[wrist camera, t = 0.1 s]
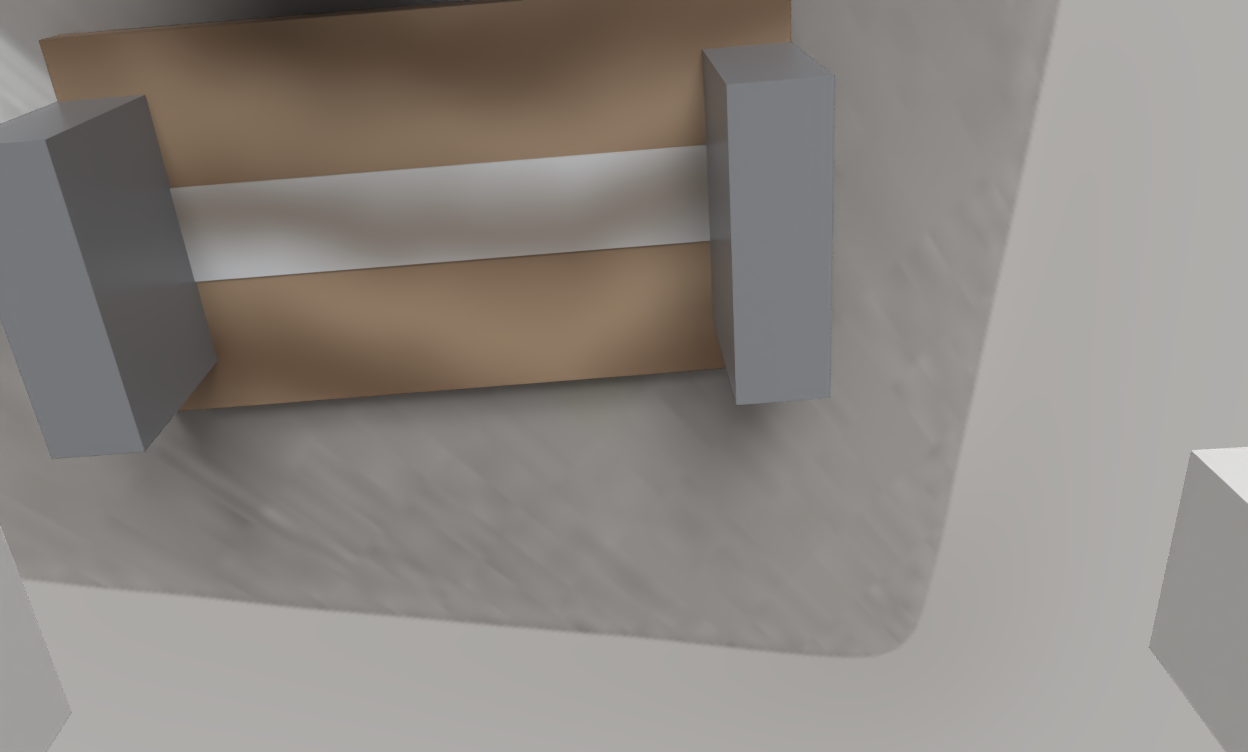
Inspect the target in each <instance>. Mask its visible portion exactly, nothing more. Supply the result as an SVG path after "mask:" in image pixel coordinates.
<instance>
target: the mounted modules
mask: <svg viewBox="0 0 1248 752" xmlns="http://www.w3.org/2000/svg"><path fill="white" fill-rule="evenodd" d="M702 54H703V79H704V104H705V129H706V148H707V173H708V198H709V223H710V254H711V279H712V304H713V323H714V326H715V330H716V333H717V337H718V341H719V344H720V348H721V352H722V355H723V359H724V363H725V366H726V370H727V373H728V377H729V381H730V384H731V388H732V392H733V395H734V399H735V402H736V405H746V404H758V403H771V402H784V401H797V400H809V399H822V398H830V380H831V310H832V239H833V169H834V98H835V75H833V74H832V73H831V72H829V71H828V70H827V69H826V68H824V67H823V66H822V65H820V64H819V63H818V62H816V61H815V60H814V59H812V58H811V57H810V56H809V55H807V54H806V53H805V52H803V51H802V50H801V49H799V48H798V47H797V46H796V45H794V44H793V43H792V42H782V43H770V44H758V45H746V46H733V47H721V48H709V49H702ZM170 188H171V187H170V184H169V180H168V176H167V173H166V169H165V165H164V162H163V158H162V154H161V151H160V147H159V143H158V140H157V136H156V132H155V129H154V125H153V121H152V118H151V114H150V110H149V107H148V103H147V99H146V96H145V95H133V96H120V97H108V98H96V99H84V100H71V101H59V102H55V103H53V104H50V105H48V106H45V107H43V108H40V109H38V110H35V111H32V112H30V113H27V114H25V115H22V116H20V117H17V118H15V119H12V120H9V121H7V122H4V123H2V124H0V319H1V322H2V325H3V327H4V330H5V333H6V335H7V338H8V341H9V344H10V346H11V349H12V352H13V355H14V357H15V360H16V363H17V365H18V368H19V371H20V374H21V376H22V379H23V382H24V385H25V387H26V390H27V393H28V395H29V398H30V401H31V404H32V406H33V409H34V412H35V415H36V417H37V420H38V423H39V425H40V428H41V431H42V434H43V436H44V439H45V442H46V445H47V447H48V450H49V453H50V455H51V458H52V459H58V458H71V457H83V456H96V455H109V454H122V453H134V452H145V451H146V449H147V448H148V447H149V446H150V444H151V443H152V442H153V441H154V439H155V438H156V437H157V436H158V434H159V433H160V432H161V431H162V429H163V428H164V427H165V426H166V424H167V423H168V422H169V421H170V420H171V418H172V417H173V416H174V415H175V413H176V412H177V411H178V410H179V408H180V407H181V406H182V405H183V403H184V402H185V401H186V400H187V398H188V397H189V396H190V395H191V393H192V392H193V391H194V390H195V388H196V387H197V386H198V385H199V383H200V382H201V381H202V380H203V378H204V377H205V376H206V375H207V373H208V372H209V371H210V370H211V368H212V367H213V366H214V365H215V363H216V362H217V361H218V360H217V356H216V353H215V349H214V345H213V342H212V338H211V334H210V331H209V327H208V323H207V320H206V316H205V312H204V309H203V305H202V301H201V298H200V294H199V290H198V287H197V283H196V282H195V280H194V276H193V273H192V269H191V265H190V262H189V258H188V254H187V251H186V247H185V243H184V240H183V236H182V232H181V229H180V225H179V221H178V218H177V214H176V210H175V207H174V203H173V199H172V196H171V192H170Z"/></svg>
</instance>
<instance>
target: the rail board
mask: <svg viewBox="0 0 1248 752" xmlns="http://www.w3.org/2000/svg"><path fill="white" fill-rule="evenodd" d="M782 42H791V0H477V1H464V2H452V3H440V4H428V5H416V6H404V7H391V8H379V9H367V10H355V11H343V12H330V13H318V14H306V15H294V16H282V17H270V18H257V19H245V20H233V21H221V22H209V23H197V24H184V25H172V26H160V27H148V28H136V29H124V30H111V31H99V32H87V33H75V34H63V35H57V36H54V37H50V38H46V39H42V40H39V43H40V46H41V49H42V52H43V56H44V59H45V62H46V65H47V69H48V72H49V75H50V78H51V81H52V85H53V88H54V91H55V94H56V98H57V101H58V102H59V101H71V100H84V99H96V98H108V97H120V96H133V95H145V96H146V99H147V103H148V107H149V110H150V114H151V118H152V121H153V125H154V129H155V132H156V136H157V140H158V143H159V147H160V151H161V154H162V158H163V162H164V165H165V169H166V173H167V176H168V180H169V184H170V187H171V188H170V192H171V196H172V199H173V203H174V207H175V210H176V214H177V218H178V221H179V225H180V229H181V232H182V236H183V240H184V243H185V247H186V251H187V254H188V258H189V262H190V265H191V269H192V273H193V276H194V280H195V282H196V283H197V287H198V290H199V294H200V298H201V301H202V305H203V309H204V312H205V316H206V320H207V323H208V327H209V331H210V334H211V338H212V342H213V345H214V349H215V353H216V356H217V360H218V361H217V362H216V363H215V365H214V366H213V367H212V368H211V370H210V371H209V372H208V373H207V375H206V376H205V377H204V378H203V380H202V381H201V382H200V383H199V385H198V386H197V387H196V388H195V390H194V391H193V392H192V393H191V395H190V396H189V397H188V398H187V400H186V401H185V402H184V403H183V405H182V406H181V407H180V408H179V410H178V411H187V410H200V409H212V408H225V407H238V406H251V405H263V404H276V403H289V402H301V401H314V400H327V399H339V398H352V397H365V396H377V395H390V394H403V393H415V392H428V391H441V390H453V389H466V388H479V387H492V386H504V385H517V384H530V383H542V382H555V381H568V380H580V379H593V378H606V377H618V376H631V375H644V374H656V373H669V372H682V371H694V370H707V369H720V368H726V366H725V363H724V359H723V355H722V352H721V348H720V344H719V341H718V337H717V333H716V330H715V326H714V323H713V304H712V279H711V254H710V223H709V198H708V173H707V148H706V129H705V104H704V79H703V54H702V49H709V48H721V47H733V46H746V45H758V44H770V43H782Z"/></svg>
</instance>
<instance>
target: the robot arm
mask: <svg viewBox="0 0 1248 752" xmlns="http://www.w3.org/2000/svg"><path fill="white" fill-rule="evenodd" d="M1149 648H1150V649H1151V651H1152V652H1153V653H1154V655H1155V656H1156V658H1157V659H1158V660H1159V662H1160V663H1161V664H1162V666H1163V667H1164V668H1165V670H1166V671H1167V672H1168V674H1169V675H1170V677H1171V678H1172V679H1173V681H1174V682H1175V683H1176V685H1177V686H1178V687H1179V689H1180V690H1181V692H1182V693H1183V694H1184V696H1185V697H1186V699H1187V700H1188V701H1189V703H1190V704H1191V705H1192V707H1193V708H1194V709H1195V711H1196V712H1197V713H1198V715H1199V716H1200V718H1201V719H1202V720H1203V722H1204V723H1205V724H1206V726H1207V727H1208V728H1209V730H1210V731H1211V733H1212V734H1213V735H1214V737H1215V738H1216V739H1217V741H1218V742H1219V744H1220V745H1221V746H1222V748H1223V749H1224V750H1225V752H1248V447H1240V448H1222V449H1206V450H1191V453H1190V458H1189V463H1188V468H1187V472H1186V477H1185V481H1184V486H1183V491H1182V496H1181V500H1180V505H1179V510H1178V514H1177V519H1176V524H1175V528H1174V533H1173V538H1172V542H1171V547H1170V552H1169V556H1168V562H1167V566H1166V570H1165V575H1164V580H1163V584H1162V589H1161V594H1160V599H1159V603H1158V608H1157V613H1156V617H1155V622H1154V627H1153V632H1152V636H1151V641H1150V645H1149ZM71 713H72V712H71V709H70V707H69V704H68V701H67V699H66V696H65V693H64V691H63V688H62V686H61V683H60V680H59V678H58V675H57V672H56V670H55V667H54V665H53V662H52V659H51V657H50V654H49V651H48V649H47V646H46V643H45V641H44V638H43V636H42V633H41V630H40V628H39V625H38V622H37V620H36V617H35V615H34V612H33V609H32V607H31V604H30V601H29V599H28V596H27V593H26V591H25V588H24V586H23V583H22V580H21V578H20V575H19V572H18V570H17V567H16V564H15V562H14V559H13V557H12V554H11V551H10V549H9V546H8V543H7V541H6V538H5V535H4V533H3V530H2V528H1V525H0V752H47V751H48V749H49V748H50V746H51V744H52V743H53V741H54V740H55V738H56V736H57V735H58V733H59V732H60V730H61V729H62V727H63V725H64V724H65V722H66V721H67V719H68V718H69V716H70V715H71Z"/></svg>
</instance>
